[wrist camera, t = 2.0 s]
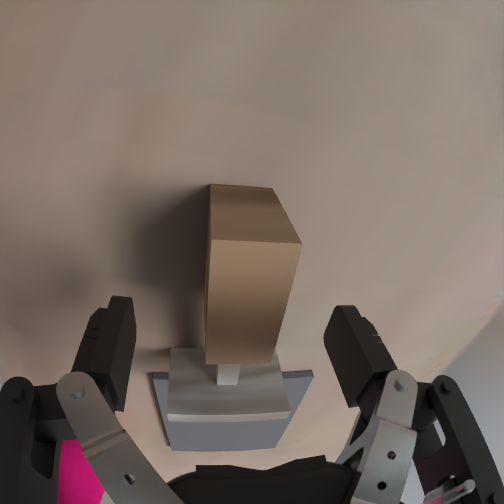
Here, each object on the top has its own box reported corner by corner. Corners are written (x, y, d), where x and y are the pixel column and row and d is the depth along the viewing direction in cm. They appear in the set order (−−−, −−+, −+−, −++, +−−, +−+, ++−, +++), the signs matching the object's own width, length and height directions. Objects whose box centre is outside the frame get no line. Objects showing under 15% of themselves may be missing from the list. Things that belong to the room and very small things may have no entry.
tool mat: (153, 372, 19) (152, 378, 19) (311, 370, 22) (313, 376, 21) (172, 446, 28) (172, 450, 27) (274, 443, 30) (274, 447, 29)
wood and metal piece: (163, 182, 13) (141, 236, 8) (314, 192, 14) (359, 247, 10) (171, 356, 19) (168, 421, 15) (272, 356, 20) (286, 418, 16)
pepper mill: (52, 410, 22) (34, 571, 6) (61, 386, 20) (39, 588, 3) (111, 434, 26) (109, 589, 9) (132, 414, 23) (134, 606, 6)
